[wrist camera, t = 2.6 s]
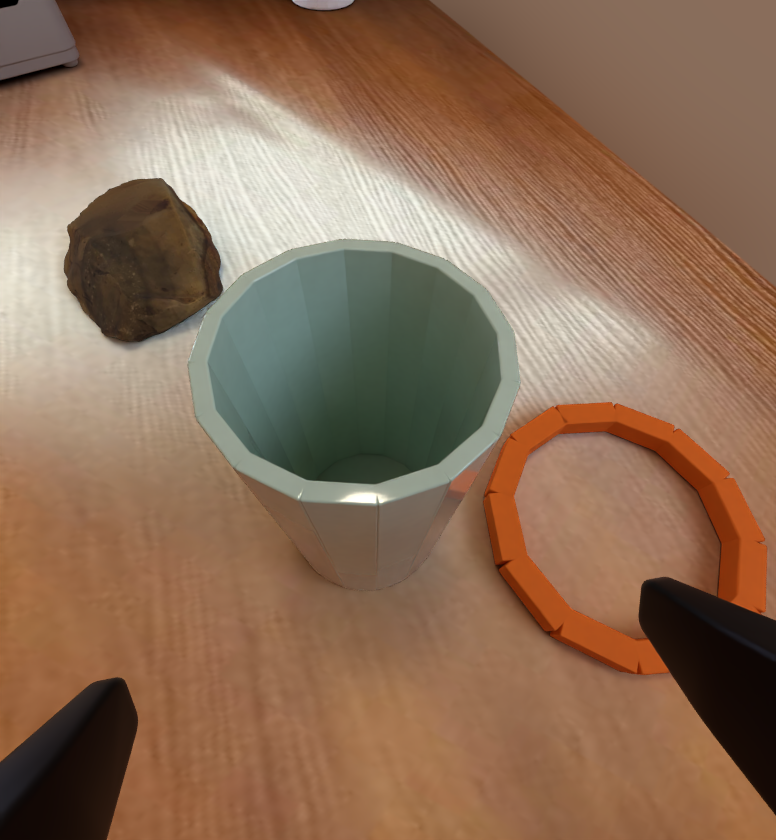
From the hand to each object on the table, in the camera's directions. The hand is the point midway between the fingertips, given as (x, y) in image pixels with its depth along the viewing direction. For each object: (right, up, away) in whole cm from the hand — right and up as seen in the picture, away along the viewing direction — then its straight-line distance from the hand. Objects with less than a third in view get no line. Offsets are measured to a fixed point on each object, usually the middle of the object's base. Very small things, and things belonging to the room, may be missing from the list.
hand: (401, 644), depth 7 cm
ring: (+11, -1, +13) cm, 17 cm away
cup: (-1, -1, +13) cm, 13 cm away
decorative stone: (-16, +13, +20) cm, 29 cm away
